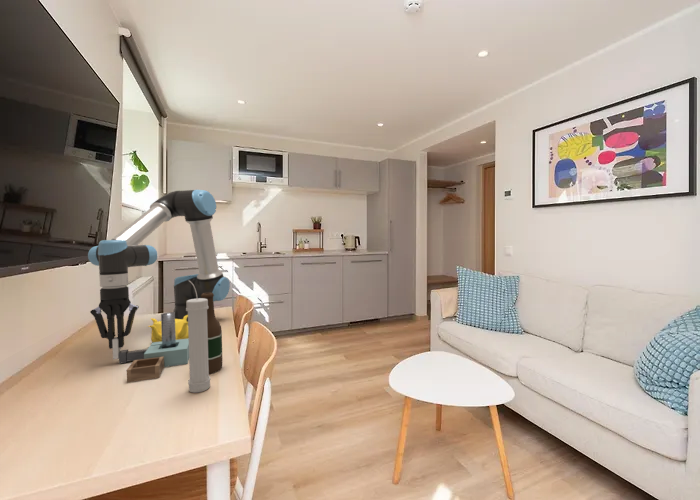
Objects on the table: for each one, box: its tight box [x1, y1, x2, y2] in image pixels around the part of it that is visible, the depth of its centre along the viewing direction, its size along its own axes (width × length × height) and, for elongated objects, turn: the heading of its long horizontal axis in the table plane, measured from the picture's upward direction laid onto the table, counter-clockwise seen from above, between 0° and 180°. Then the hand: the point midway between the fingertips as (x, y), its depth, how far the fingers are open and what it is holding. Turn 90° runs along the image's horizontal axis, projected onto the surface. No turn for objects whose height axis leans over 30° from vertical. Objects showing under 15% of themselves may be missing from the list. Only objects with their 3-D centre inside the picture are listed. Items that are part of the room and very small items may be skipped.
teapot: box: [147, 315, 189, 343], centre depth 126 cm, size 15×14×10 cm
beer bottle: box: [201, 292, 223, 375], centre depth 98 cm, size 8×8×24 cm
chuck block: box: [144, 338, 189, 368], centre depth 106 cm, size 12×12×5 cm
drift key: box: [118, 348, 148, 364], centre depth 106 cm, size 3×10×4 cm, turn 111°
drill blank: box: [160, 311, 176, 349], centre depth 106 cm, size 4×4×16 cm
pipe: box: [186, 281, 211, 393], centre depth 85 cm, size 6×6×30 cm
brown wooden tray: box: [126, 356, 165, 383], centre depth 95 cm, size 8×8×4 cm
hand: (117, 357), depth 104 cm, fingers closed
